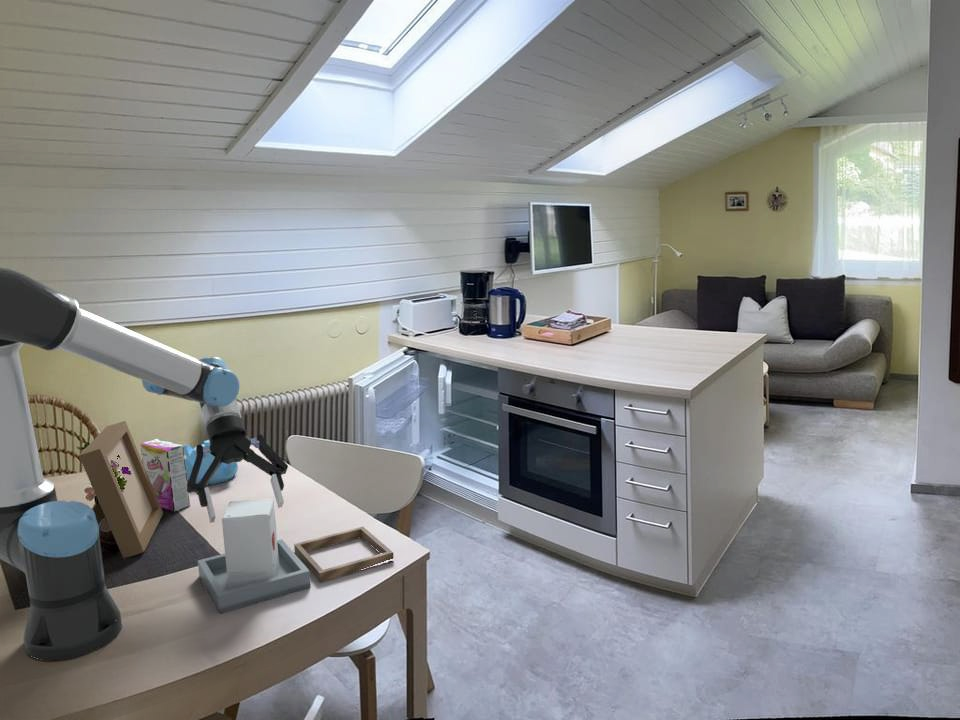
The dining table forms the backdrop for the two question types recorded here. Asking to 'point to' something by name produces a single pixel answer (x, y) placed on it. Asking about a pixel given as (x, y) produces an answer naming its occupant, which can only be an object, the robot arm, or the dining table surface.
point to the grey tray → (287, 581)
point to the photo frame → (124, 511)
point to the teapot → (221, 473)
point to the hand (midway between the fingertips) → (247, 512)
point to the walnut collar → (342, 569)
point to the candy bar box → (166, 473)
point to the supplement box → (250, 542)
